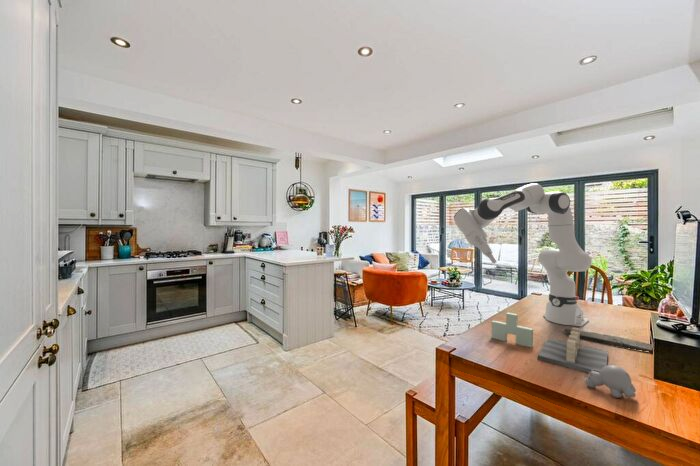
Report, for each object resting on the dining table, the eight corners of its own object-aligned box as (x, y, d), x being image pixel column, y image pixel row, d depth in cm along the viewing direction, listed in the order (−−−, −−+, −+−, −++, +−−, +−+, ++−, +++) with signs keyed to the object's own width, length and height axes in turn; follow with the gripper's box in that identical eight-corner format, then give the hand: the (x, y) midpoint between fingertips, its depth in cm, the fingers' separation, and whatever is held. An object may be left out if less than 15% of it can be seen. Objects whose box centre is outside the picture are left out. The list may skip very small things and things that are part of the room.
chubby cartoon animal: (592, 390, 97) (581, 363, 99) (639, 391, 88) (626, 361, 91) (587, 398, 92) (575, 369, 94) (637, 400, 84) (623, 368, 86)
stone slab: (565, 326, 146) (651, 340, 126) (566, 332, 146) (652, 347, 126) (563, 331, 138) (654, 347, 118) (563, 338, 138) (654, 355, 118)
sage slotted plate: (491, 337, 135) (491, 310, 134) (492, 336, 136) (493, 309, 136) (531, 347, 124) (532, 318, 124) (532, 345, 126) (533, 317, 125)
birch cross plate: (548, 341, 131) (548, 321, 131) (607, 354, 118) (608, 332, 117) (537, 359, 113) (538, 336, 113) (606, 377, 100) (606, 351, 100)
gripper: (481, 231, 131) (501, 258, 127) (484, 236, 149) (501, 259, 145) (469, 239, 133) (487, 265, 129) (473, 243, 151) (489, 266, 147)
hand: (494, 262), depth 137 cm, fingers open, 8 cm apart
